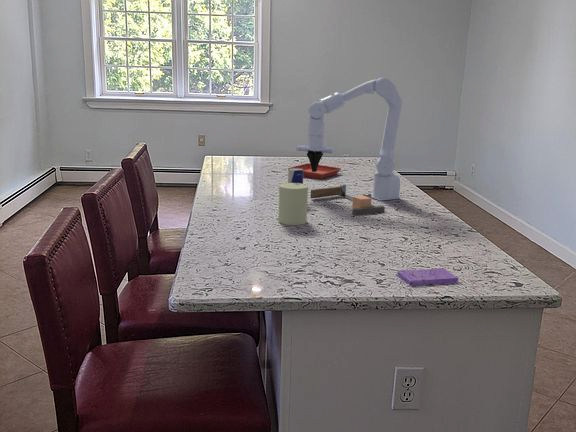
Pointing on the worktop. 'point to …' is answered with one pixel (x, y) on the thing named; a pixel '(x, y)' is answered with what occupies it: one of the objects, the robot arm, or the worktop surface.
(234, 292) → the worktop surface
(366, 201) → the block
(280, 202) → the can
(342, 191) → the frame
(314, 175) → the plant saucer
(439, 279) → the sponges
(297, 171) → the energy drink
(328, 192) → the brown long flat bar
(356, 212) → the kerb
